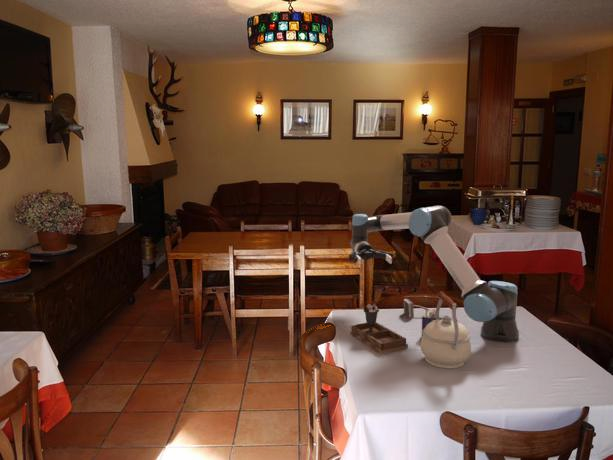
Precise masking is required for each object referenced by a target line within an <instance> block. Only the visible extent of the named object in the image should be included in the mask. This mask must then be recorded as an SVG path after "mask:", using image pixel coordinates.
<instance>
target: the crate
mask: <svg viewBox="0 0 613 460" xmlns="http://www.w3.org/2000/svg"><path fill="white" fill-rule="evenodd" d="M350 327H351V330H350V331H349V335H350V336H351V337H352V338H355V339H356V340H357V341H359V342H361V343H362V344H364V345H365V346H367V347H369V348H370V349H372V350H373V351H375V352H377V353H378V354H380V355H383V354H388V353H393V352H396V351H401V350H406V349H408V348H409V344H408V343H407V338H406V337H404V336H402V335H401V334H398V333H397V332H396V331H393V330H391V329H390V328H388V327H386V326H385V325H383V324H380V323H379V322H377V321H376V323H375V324H374V325H372V329H373V331H376V332H373V333H368V334H367V333H365V331H368V330H369V329H370V325H369V324H368V323H367V322H363V323H358V324H352V325H351V326H350Z"/></svg>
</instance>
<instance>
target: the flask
mask: <svg viewBox="0 0 613 460" xmlns="http://www.w3.org/2000/svg"><path fill="white" fill-rule="evenodd" d="M442 317H443V315H439V320H441V318H442ZM421 320H422V321H421V331H422V330H423V329H424V328H425V327H426V325H427V324H429V323H430V322H432V321H433V320H436V314H435V313H434V312H433V314H432V315H431V316H430V315H429V314H427V315H426V316H425V315H423V316H422V317H421ZM422 336H423V334H422V333H421V337H422Z"/></svg>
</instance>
